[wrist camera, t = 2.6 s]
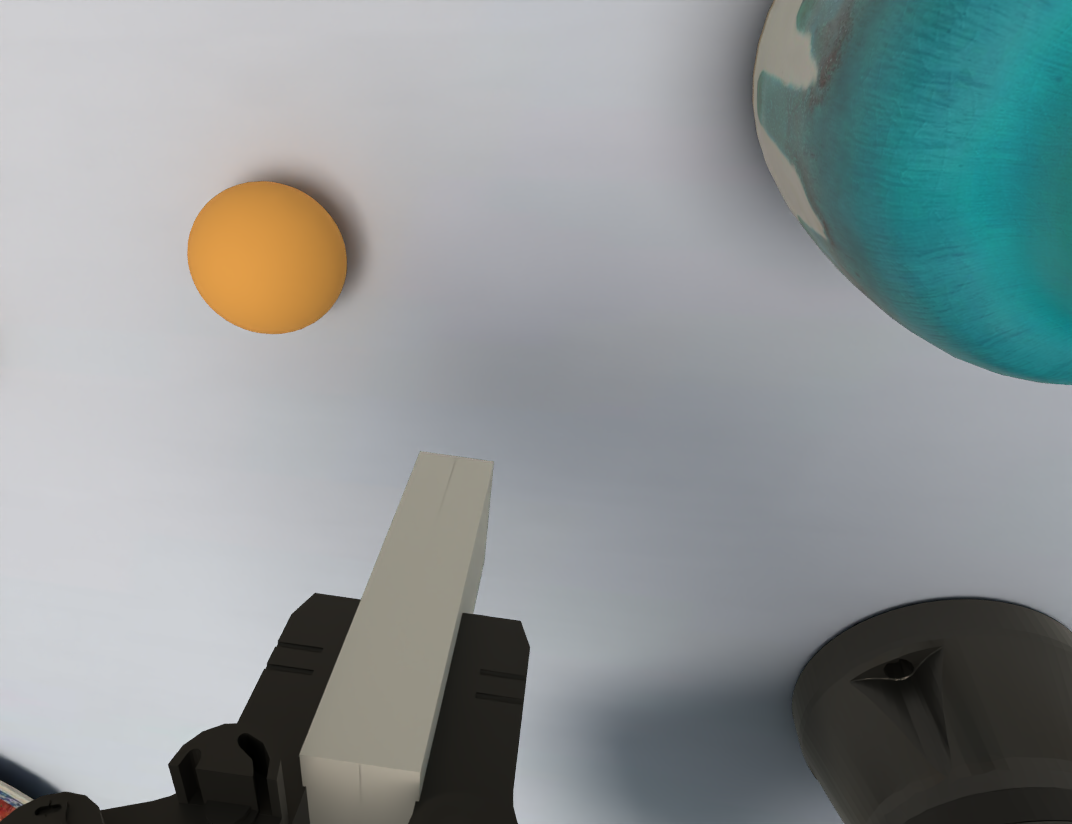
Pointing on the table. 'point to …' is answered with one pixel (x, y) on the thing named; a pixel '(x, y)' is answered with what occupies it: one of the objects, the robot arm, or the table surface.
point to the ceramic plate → (10, 799)
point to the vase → (933, 164)
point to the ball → (267, 257)
